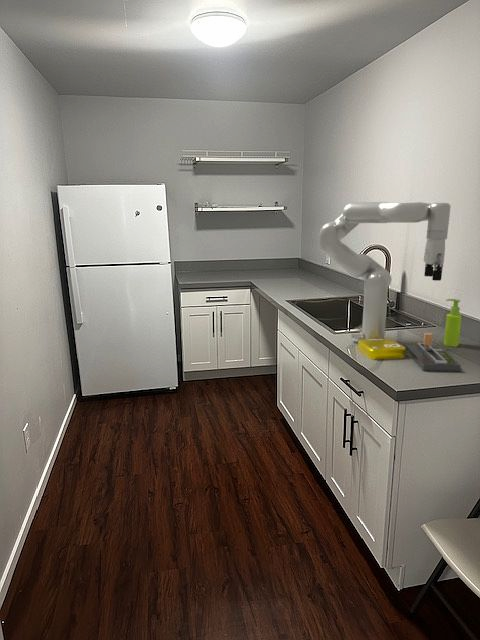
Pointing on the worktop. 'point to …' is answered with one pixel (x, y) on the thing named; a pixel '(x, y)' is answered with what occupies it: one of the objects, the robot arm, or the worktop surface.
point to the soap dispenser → (453, 325)
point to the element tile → (381, 348)
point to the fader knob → (427, 340)
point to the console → (432, 358)
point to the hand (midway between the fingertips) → (432, 278)
